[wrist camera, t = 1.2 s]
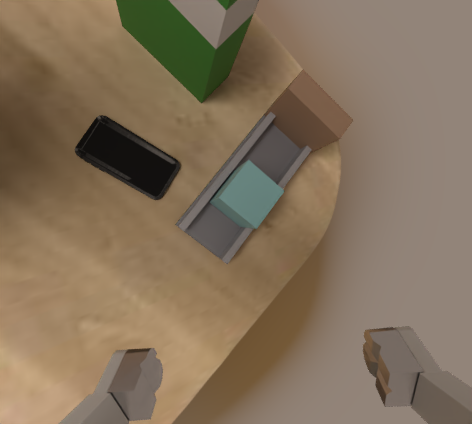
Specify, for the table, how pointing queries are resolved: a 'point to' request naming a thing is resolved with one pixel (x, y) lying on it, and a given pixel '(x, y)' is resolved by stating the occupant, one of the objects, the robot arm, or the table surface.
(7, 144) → the table surface
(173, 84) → the table surface
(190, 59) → the hardback book
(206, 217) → the keeper track
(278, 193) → the block
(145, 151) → the phone
